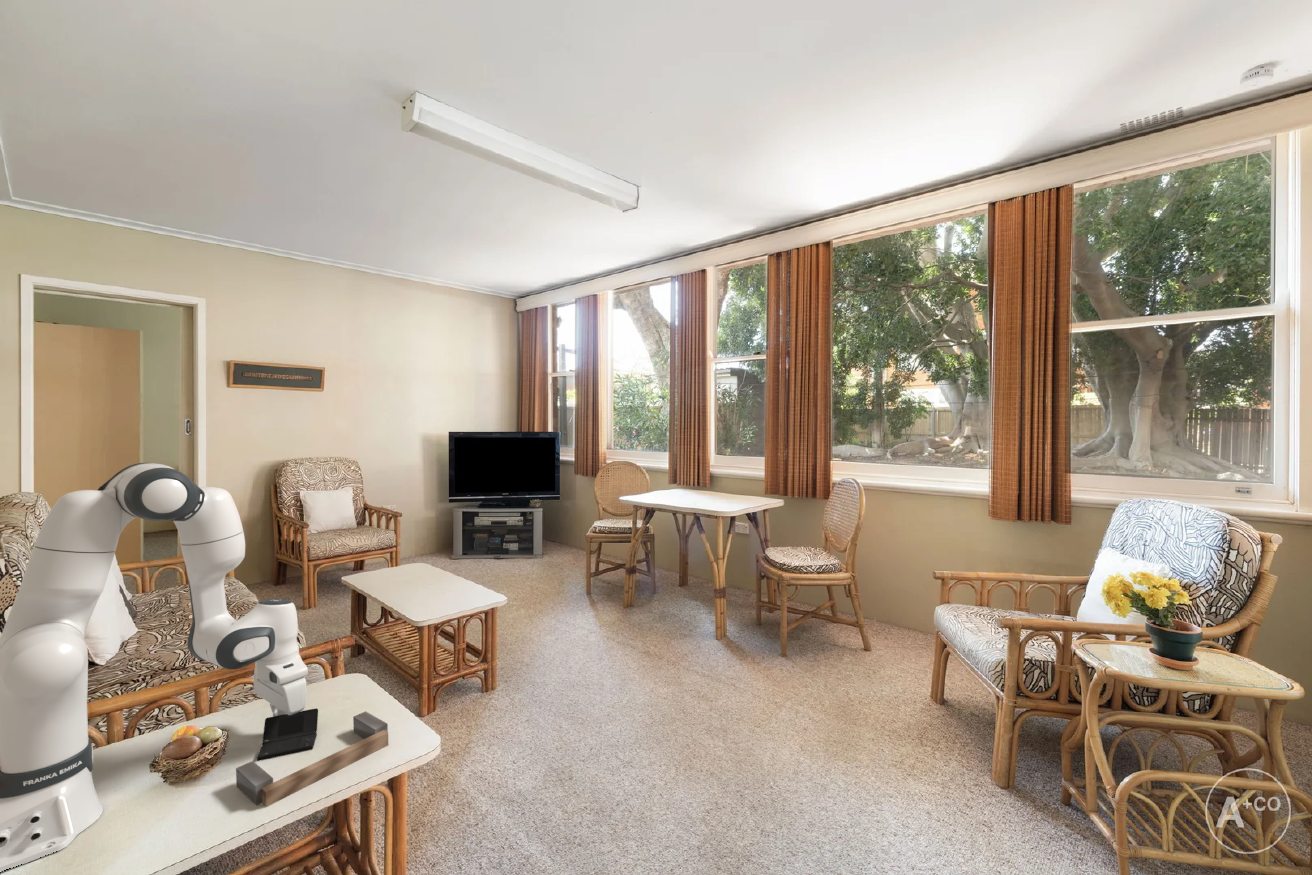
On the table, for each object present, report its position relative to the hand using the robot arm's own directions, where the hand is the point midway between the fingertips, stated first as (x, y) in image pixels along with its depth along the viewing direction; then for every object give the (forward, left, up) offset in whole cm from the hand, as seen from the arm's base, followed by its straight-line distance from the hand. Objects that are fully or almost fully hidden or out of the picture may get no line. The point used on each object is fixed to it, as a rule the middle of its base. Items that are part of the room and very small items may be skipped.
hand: (279, 720), depth 134 cm
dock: (0, -21, -3) cm, 21 cm away
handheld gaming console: (-1, -7, -4) cm, 8 cm away
